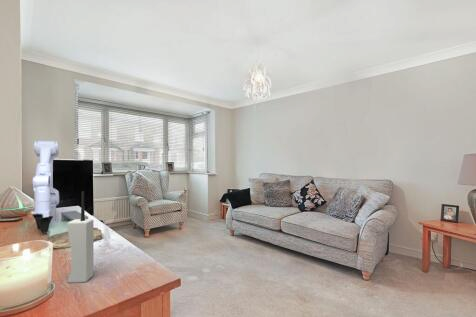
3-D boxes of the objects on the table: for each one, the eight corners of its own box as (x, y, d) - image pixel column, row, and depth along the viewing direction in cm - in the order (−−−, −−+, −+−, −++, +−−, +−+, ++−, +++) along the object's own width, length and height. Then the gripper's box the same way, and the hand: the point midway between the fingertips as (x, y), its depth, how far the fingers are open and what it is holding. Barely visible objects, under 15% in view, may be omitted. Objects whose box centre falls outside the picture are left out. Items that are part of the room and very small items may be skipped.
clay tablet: (44, 255, 84) (106, 239, 98) (44, 241, 84) (105, 228, 98) (40, 245, 94) (96, 233, 108) (39, 233, 94) (96, 222, 108)
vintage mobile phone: (75, 276, 68) (75, 190, 68) (93, 275, 68) (93, 190, 68) (67, 283, 64) (67, 192, 64) (86, 282, 64) (86, 192, 64)
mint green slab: (43, 231, 112) (43, 225, 112) (72, 225, 121) (72, 220, 121) (50, 237, 103) (50, 230, 103) (81, 231, 112) (81, 224, 112)
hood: (61, 224, 121) (61, 212, 121) (75, 222, 125) (75, 210, 125) (73, 233, 107) (73, 219, 107) (88, 230, 112) (88, 216, 112)
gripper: (28, 200, 109) (28, 229, 109) (34, 204, 99) (34, 236, 99) (47, 198, 114) (47, 226, 114) (54, 201, 104) (54, 232, 104)
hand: (42, 230), depth 107 cm, fingers open, 7 cm apart
